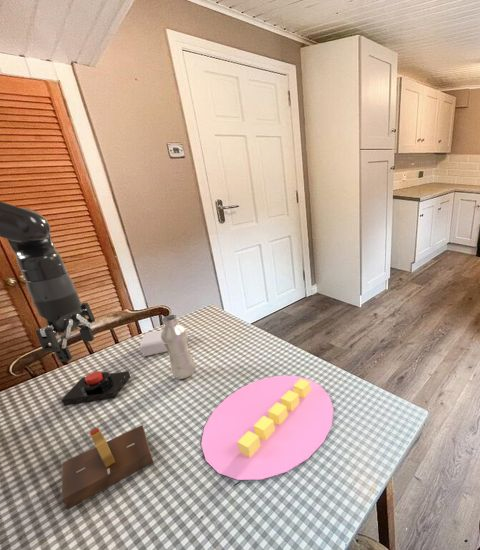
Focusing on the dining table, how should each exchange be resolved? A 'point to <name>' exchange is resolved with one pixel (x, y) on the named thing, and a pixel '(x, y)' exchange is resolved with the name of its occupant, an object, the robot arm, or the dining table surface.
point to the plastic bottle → (177, 347)
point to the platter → (267, 427)
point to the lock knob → (102, 447)
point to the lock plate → (95, 476)
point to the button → (93, 378)
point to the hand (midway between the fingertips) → (78, 350)
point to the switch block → (97, 389)
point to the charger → (154, 343)
